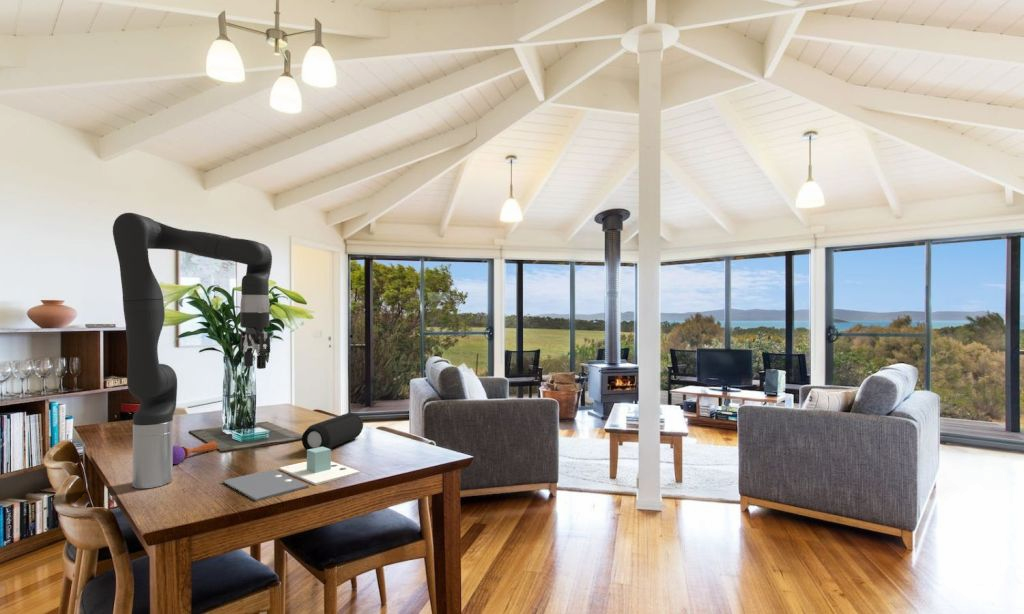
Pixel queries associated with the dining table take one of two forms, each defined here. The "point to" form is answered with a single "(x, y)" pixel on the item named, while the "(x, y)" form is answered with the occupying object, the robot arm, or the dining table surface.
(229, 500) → the dining table surface
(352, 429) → the portable speaker
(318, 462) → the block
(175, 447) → the kendama
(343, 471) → the three dot pad
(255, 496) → the two dot pad
